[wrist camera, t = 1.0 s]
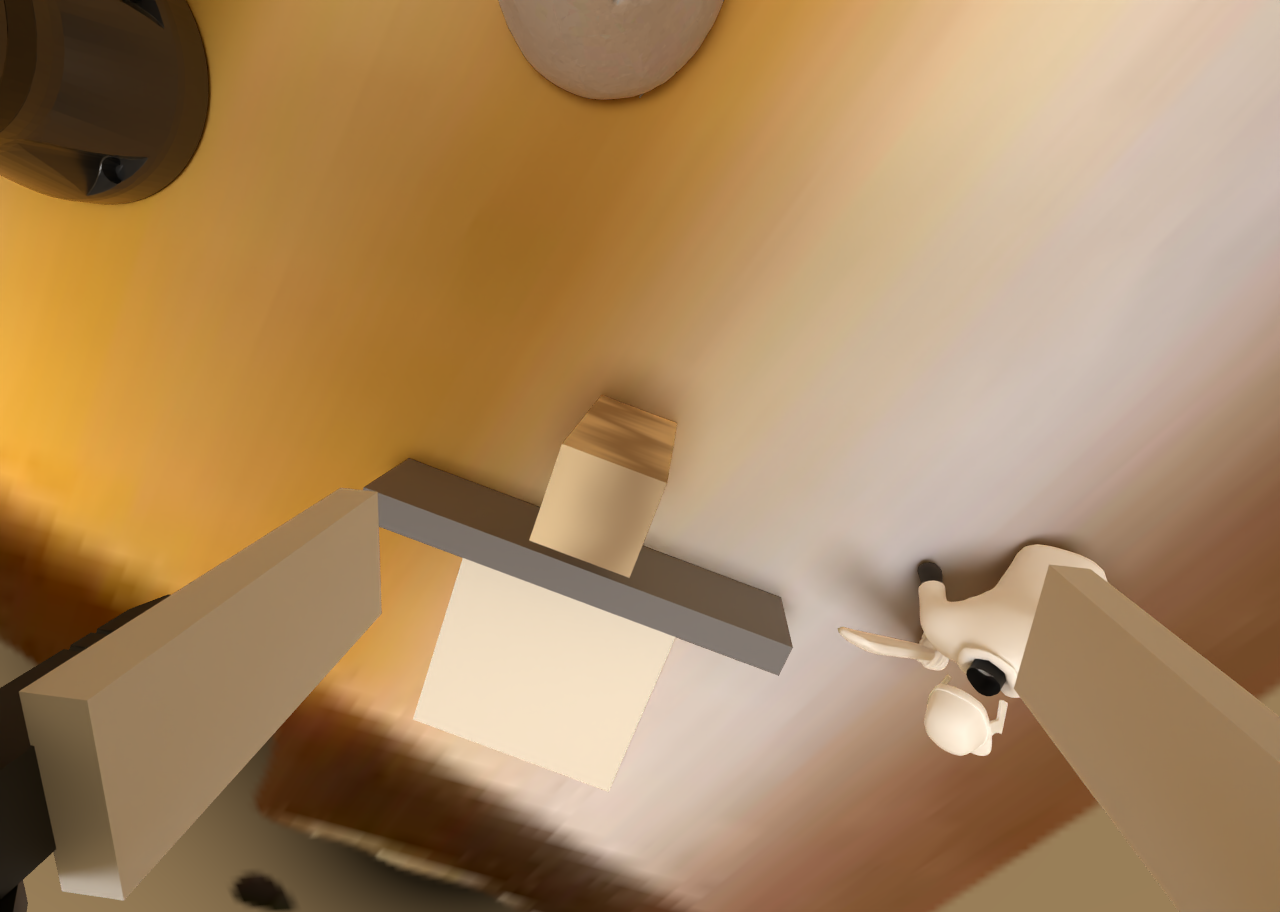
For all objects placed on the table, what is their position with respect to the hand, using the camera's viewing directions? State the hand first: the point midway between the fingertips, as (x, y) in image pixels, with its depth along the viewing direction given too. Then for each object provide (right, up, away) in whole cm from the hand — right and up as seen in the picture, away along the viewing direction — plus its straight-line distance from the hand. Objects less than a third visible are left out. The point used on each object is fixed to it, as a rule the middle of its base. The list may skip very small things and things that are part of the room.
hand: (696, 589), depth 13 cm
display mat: (-8, -12, +33) cm, 36 cm away
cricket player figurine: (+19, -7, +30) cm, 36 cm away
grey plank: (-4, -3, +31) cm, 31 cm away
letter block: (-2, +3, +29) cm, 29 cm away
